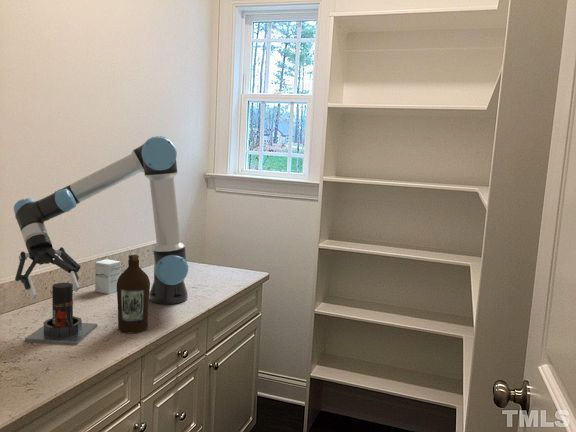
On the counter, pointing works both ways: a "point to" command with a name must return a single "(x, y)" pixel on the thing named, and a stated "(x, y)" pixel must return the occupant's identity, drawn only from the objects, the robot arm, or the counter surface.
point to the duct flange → (62, 332)
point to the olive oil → (133, 298)
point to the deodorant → (62, 304)
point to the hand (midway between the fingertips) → (56, 293)
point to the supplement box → (106, 276)
